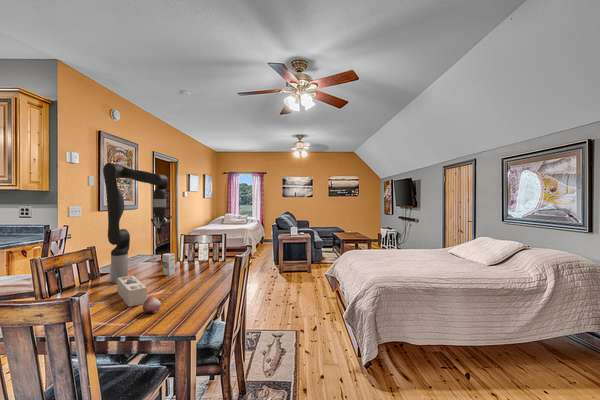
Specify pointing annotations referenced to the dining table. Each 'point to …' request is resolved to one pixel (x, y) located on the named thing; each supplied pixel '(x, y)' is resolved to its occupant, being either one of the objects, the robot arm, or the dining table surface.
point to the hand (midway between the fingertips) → (159, 233)
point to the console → (131, 291)
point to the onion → (151, 305)
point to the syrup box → (168, 264)
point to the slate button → (130, 281)
